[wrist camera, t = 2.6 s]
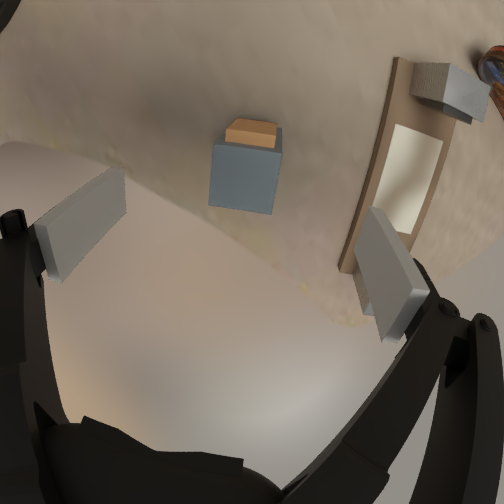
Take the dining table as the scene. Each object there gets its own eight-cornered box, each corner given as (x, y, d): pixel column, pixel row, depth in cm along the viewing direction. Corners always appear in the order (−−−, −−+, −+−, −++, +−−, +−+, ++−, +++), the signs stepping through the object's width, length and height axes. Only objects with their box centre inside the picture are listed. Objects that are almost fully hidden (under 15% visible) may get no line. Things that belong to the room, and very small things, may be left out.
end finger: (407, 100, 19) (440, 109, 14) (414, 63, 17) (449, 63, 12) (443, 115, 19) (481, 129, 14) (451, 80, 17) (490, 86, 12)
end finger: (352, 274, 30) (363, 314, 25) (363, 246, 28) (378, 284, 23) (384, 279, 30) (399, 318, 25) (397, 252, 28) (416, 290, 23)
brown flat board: (337, 265, 31) (339, 272, 30) (394, 57, 18) (399, 56, 17) (393, 274, 31) (396, 281, 30) (457, 85, 18) (464, 86, 17)
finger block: (230, 164, 26) (208, 205, 18) (236, 113, 23) (214, 130, 16) (274, 170, 26) (271, 214, 18) (283, 119, 23) (284, 140, 16)
